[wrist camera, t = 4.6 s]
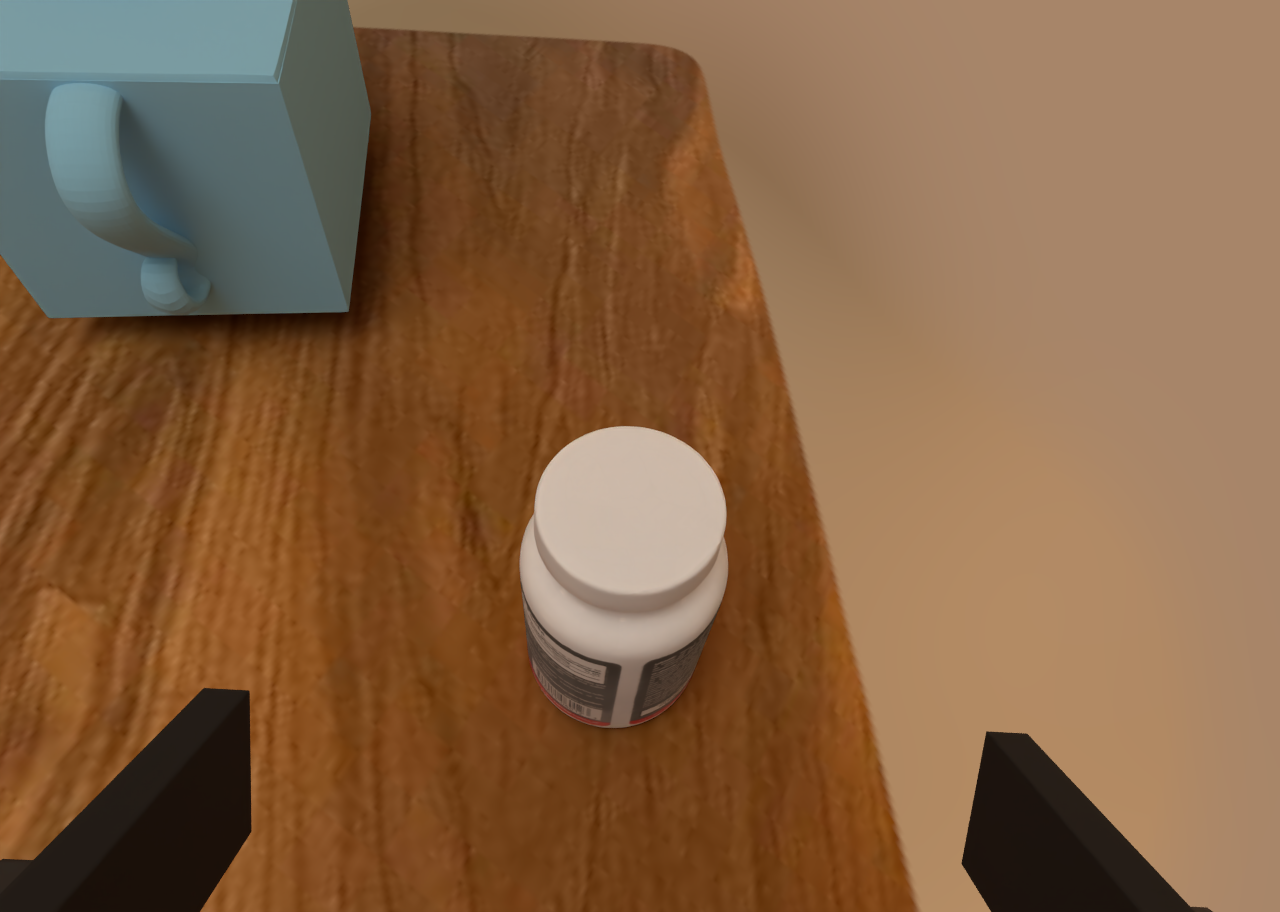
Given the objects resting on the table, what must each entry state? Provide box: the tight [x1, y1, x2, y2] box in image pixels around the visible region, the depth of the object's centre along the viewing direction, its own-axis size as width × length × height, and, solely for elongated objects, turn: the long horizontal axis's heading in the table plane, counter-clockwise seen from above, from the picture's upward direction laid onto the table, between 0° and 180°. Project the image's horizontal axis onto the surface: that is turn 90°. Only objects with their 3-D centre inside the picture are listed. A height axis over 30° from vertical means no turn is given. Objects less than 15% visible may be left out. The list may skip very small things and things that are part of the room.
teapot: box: [0, 0, 371, 318], centre depth 32 cm, size 22×11×14 cm, turn 6°
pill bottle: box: [520, 426, 728, 728], centre depth 24 cm, size 6×6×10 cm
